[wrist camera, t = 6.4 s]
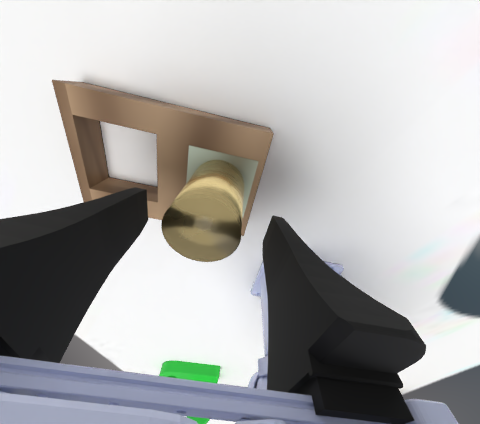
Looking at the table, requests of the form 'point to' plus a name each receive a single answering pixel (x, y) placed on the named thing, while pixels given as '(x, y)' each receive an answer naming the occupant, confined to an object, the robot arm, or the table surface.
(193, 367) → the mechanical part
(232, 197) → the cylinder
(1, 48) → the table surface
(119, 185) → the pocket board
